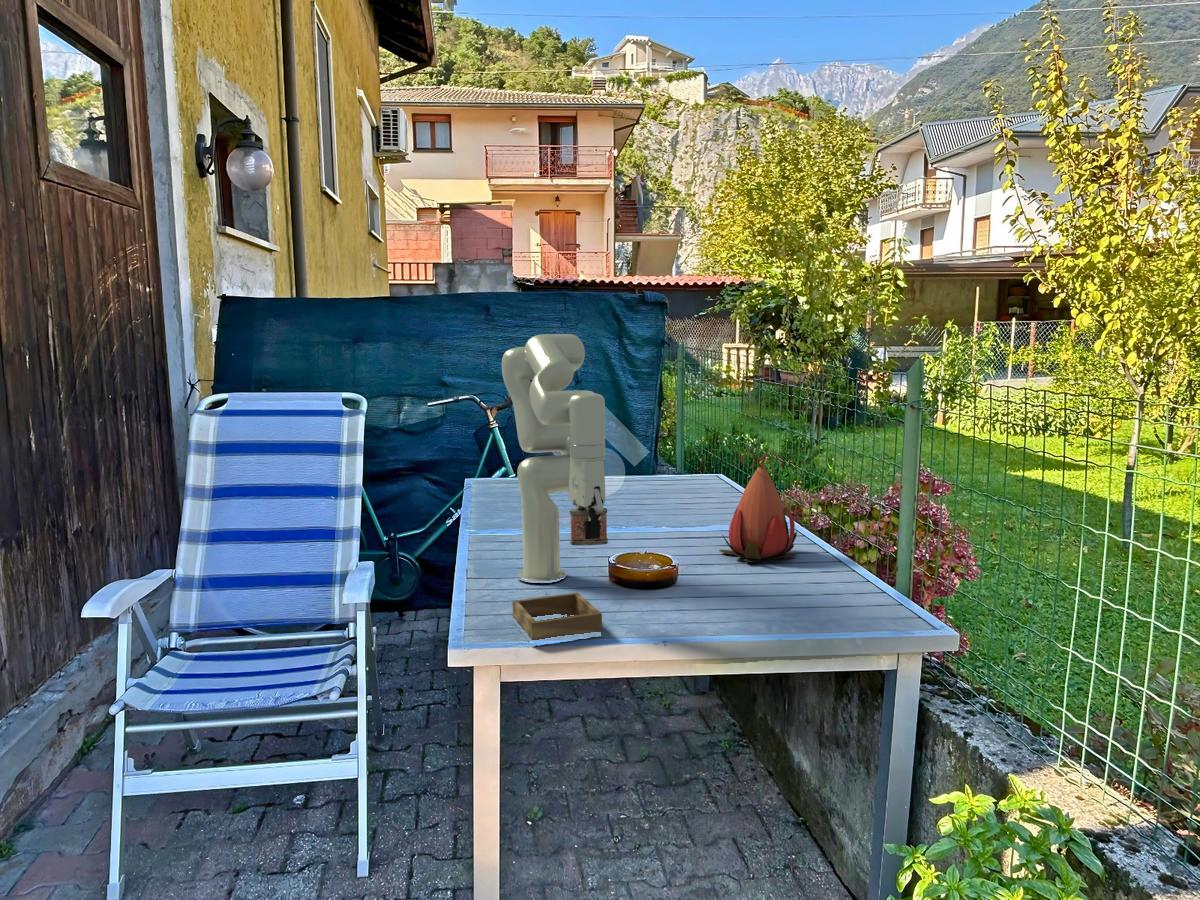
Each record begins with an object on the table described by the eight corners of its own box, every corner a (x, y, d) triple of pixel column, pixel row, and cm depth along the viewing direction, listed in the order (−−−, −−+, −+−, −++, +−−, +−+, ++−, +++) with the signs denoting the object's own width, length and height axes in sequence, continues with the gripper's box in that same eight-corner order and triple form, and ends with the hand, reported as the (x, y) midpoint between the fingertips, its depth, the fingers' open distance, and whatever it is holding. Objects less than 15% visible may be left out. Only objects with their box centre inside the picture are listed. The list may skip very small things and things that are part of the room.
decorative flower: (798, 548, 233) (801, 447, 229) (795, 571, 211) (798, 458, 207) (723, 544, 239) (724, 445, 234) (712, 565, 217) (713, 456, 212)
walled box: (512, 622, 174) (512, 600, 173) (577, 614, 179) (577, 592, 178) (532, 647, 160) (531, 623, 159) (602, 636, 165) (601, 613, 164)
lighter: (607, 541, 174) (606, 495, 173) (608, 544, 170) (607, 498, 169) (570, 542, 173) (569, 496, 172) (570, 546, 170) (569, 499, 169)
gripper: (557, 448, 175) (558, 529, 178) (585, 458, 160) (586, 547, 163) (589, 446, 178) (589, 526, 181) (620, 455, 163) (620, 543, 166)
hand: (588, 535), depth 172 cm, fingers closed on lighter, 4 cm apart
